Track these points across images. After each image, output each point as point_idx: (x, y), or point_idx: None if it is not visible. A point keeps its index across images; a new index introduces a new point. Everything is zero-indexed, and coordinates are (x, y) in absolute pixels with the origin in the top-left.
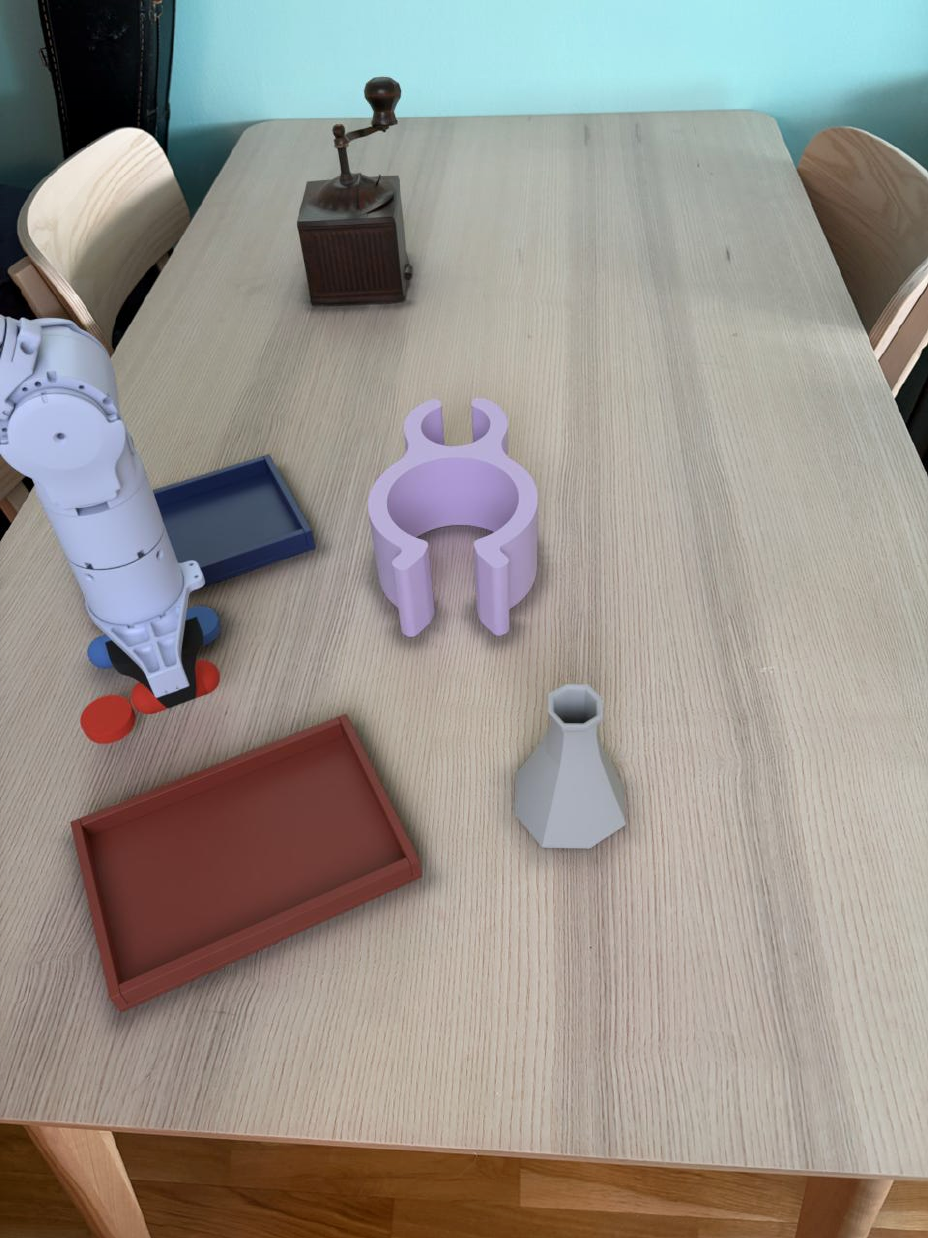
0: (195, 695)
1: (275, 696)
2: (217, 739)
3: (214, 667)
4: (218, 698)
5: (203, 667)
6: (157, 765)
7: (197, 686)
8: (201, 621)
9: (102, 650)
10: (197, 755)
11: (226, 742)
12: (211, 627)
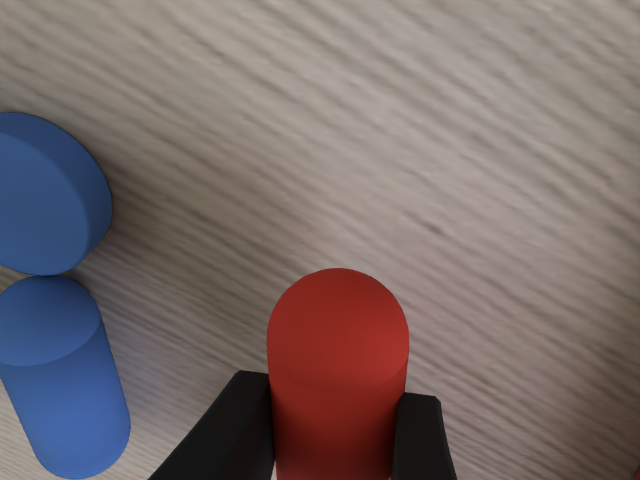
0: (437, 406)
1: (469, 47)
2: (525, 287)
3: (338, 317)
4: (357, 228)
5: (339, 374)
6: (501, 424)
7: (397, 387)
8: (10, 190)
9: (90, 465)
10: (543, 348)
11: (557, 270)
12: (46, 169)
